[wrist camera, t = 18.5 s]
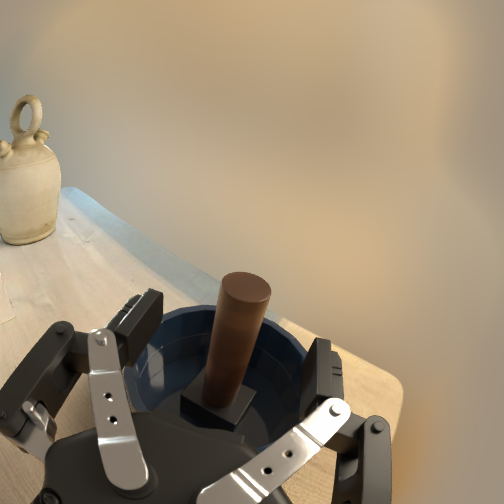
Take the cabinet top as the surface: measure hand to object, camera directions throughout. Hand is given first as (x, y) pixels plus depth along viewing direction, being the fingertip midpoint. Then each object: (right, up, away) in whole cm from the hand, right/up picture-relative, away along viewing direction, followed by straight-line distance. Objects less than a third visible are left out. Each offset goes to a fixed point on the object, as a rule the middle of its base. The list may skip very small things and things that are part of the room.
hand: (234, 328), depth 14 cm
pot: (-3, -11, +8) cm, 14 cm away
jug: (-41, +8, +26) cm, 49 cm away
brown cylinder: (-2, -10, +8) cm, 13 cm away
